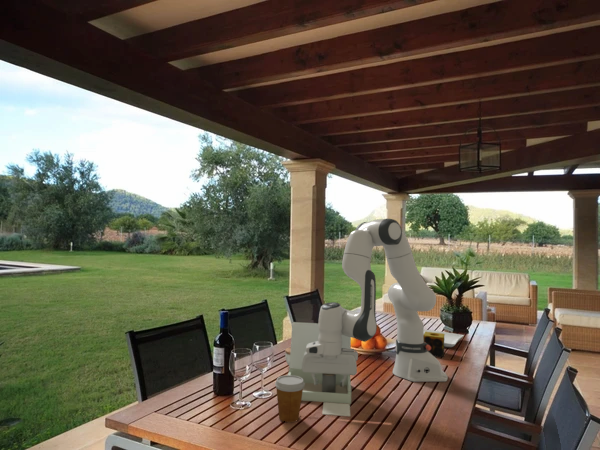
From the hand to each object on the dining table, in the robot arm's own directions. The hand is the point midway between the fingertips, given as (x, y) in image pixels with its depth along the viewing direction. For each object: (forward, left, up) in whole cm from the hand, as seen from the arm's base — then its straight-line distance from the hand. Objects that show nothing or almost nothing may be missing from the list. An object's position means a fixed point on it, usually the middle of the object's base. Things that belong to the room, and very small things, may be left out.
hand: (328, 385), depth 146 cm
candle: (-52, -64, -4) cm, 83 cm away
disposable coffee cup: (+12, +21, -4) cm, 24 cm away
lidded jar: (+15, -29, -4) cm, 33 cm away
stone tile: (-3, +14, -3) cm, 14 cm away
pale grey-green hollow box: (+4, -4, -3) cm, 7 cm away
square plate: (-59, -91, -4) cm, 109 cm away
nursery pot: (0, 0, -3) cm, 3 cm away
